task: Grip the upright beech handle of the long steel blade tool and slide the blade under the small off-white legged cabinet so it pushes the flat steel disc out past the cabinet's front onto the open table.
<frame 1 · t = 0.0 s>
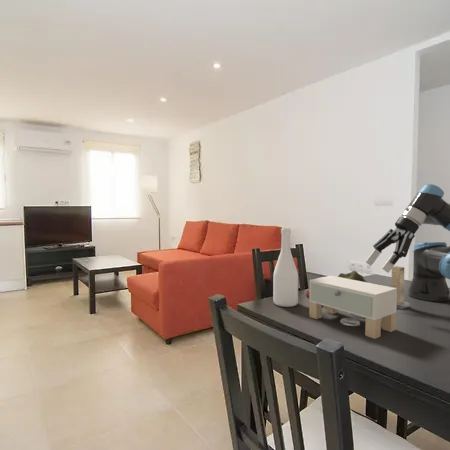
hand: (376, 267, 125), 15 cm above the table, tool tilted 35°, fingers open, 13 cm apart
decorative rock: (354, 294, 146), on the table
steel disc: (350, 324, 109), on the table
wine bottle: (285, 304, 131), on the table
cabinet: (350, 322, 109), on the table
pliers: (317, 301, 136), on the table
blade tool: (397, 306, 127), on the table
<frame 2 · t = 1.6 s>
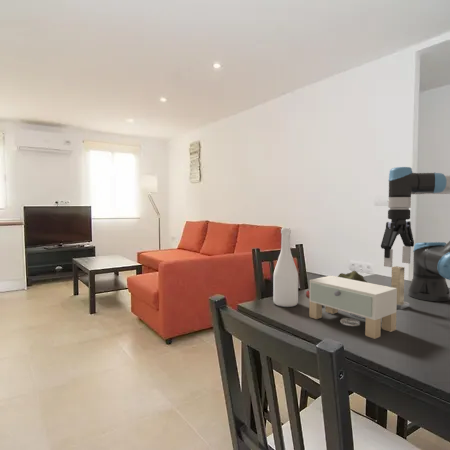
hand: (397, 264, 126), 16 cm above the table, tool pointing down, fingers open, 13 cm apart
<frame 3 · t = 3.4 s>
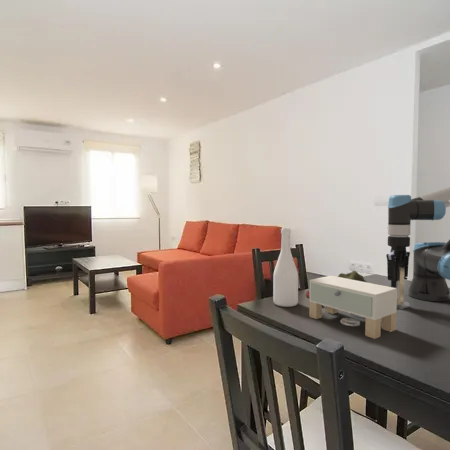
hand: (397, 296, 127), 4 cm above the table, tool pointing down, fingers closed on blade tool, 3 cm apart
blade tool: (397, 306, 127), on the table, touching gripper
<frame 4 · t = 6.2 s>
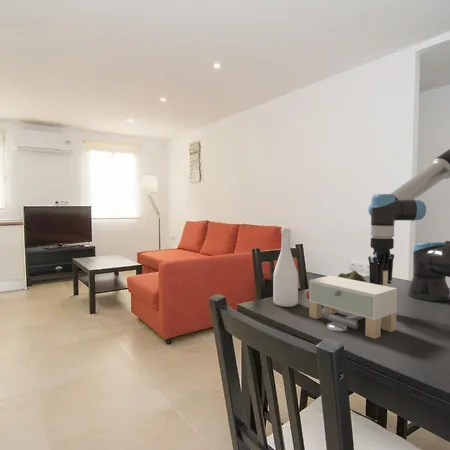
hand: (380, 301, 120), 4 cm above the table, tool pointing down, fingers closed on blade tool, 3 cm apart
steel disc: (336, 328, 105), on the table
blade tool: (380, 311, 120), on the table, touching gripper
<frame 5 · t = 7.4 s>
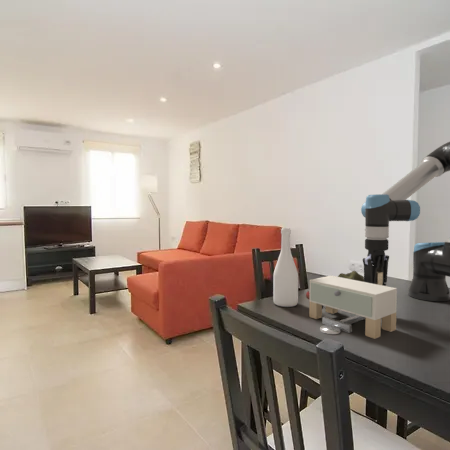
hand: (375, 304, 118), 4 cm above the table, tool pointing down, fingers closed on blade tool, 3 cm apart
steel disc: (330, 331, 103), on the table
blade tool: (375, 313, 118), on the table, touching gripper
when the fingers open (4 cm above the table, at t = 8.4 s): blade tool stays where it is, on the table.
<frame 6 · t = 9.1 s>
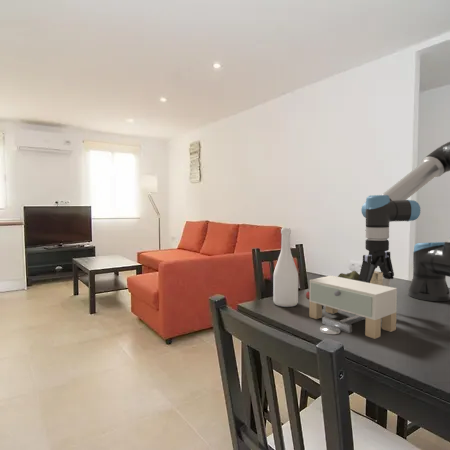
hand: (376, 299, 118), 5 cm above the table, tool pointing down, fingers open, 12 cm apart
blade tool: (375, 314, 118), on the table
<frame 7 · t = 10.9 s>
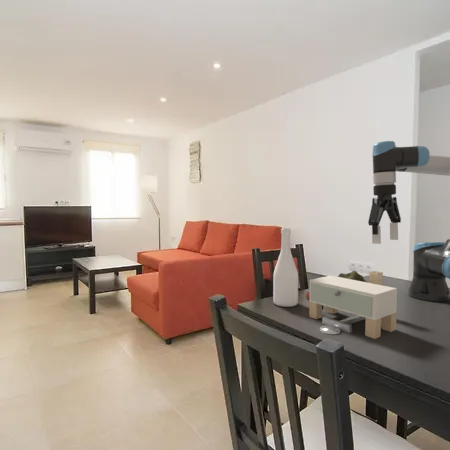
hand: (385, 241, 124), 25 cm above the table, tool pointing down, fingers open, 13 cm apart
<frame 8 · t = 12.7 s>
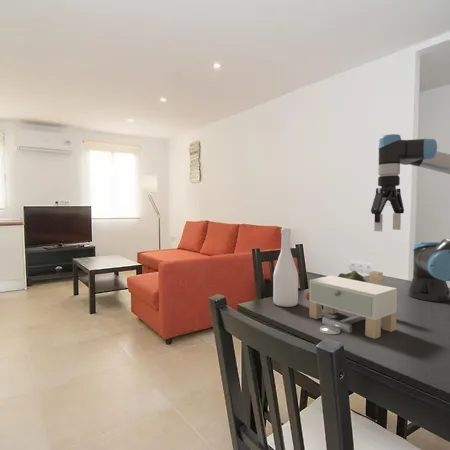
hand: (387, 230, 130), 29 cm above the table, tool pointing down, fingers open, 13 cm apart
at the end: steel disc moved 11.0 cm from its start; steel disc inside the target area (2.0 cm from its centre), on the table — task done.
